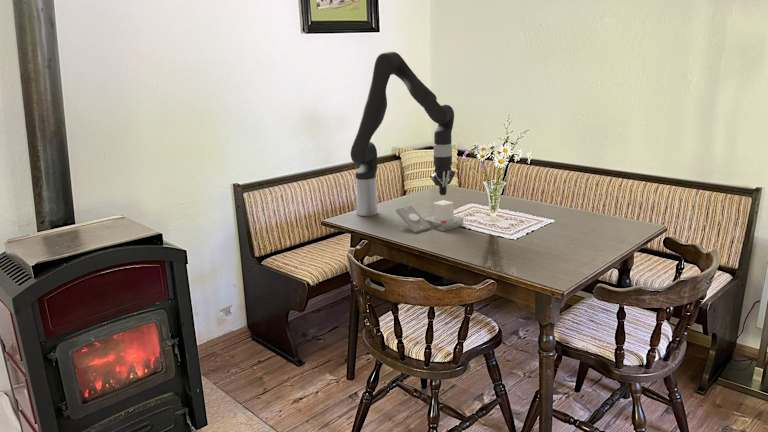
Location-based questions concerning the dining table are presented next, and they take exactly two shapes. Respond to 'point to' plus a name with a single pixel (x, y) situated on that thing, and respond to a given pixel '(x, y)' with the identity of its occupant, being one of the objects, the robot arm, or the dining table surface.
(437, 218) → the plug
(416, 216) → the light switch
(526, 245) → the dining table surface
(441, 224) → the socket
